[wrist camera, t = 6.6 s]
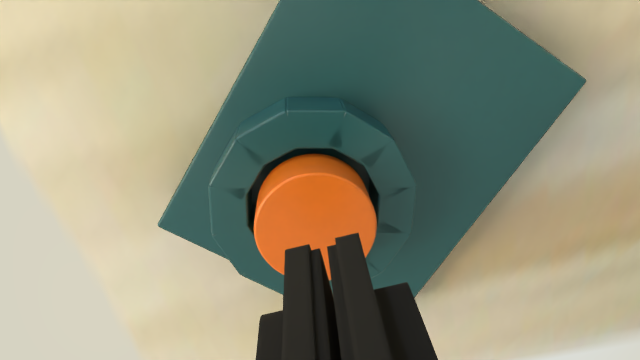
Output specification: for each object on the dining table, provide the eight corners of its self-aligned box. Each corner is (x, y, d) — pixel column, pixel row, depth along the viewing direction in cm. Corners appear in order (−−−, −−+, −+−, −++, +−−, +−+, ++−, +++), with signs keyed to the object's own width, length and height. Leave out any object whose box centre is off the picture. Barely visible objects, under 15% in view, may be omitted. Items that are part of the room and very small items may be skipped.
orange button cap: (292, 131, 14) (294, 150, 13) (389, 186, 15) (401, 209, 14) (237, 223, 15) (231, 251, 14) (330, 269, 16) (335, 301, 15)
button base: (329, -92, 15) (343, -117, 12) (553, 70, 18) (624, 91, 14) (170, 200, 19) (141, 252, 15) (376, 301, 21) (395, 367, 18)
